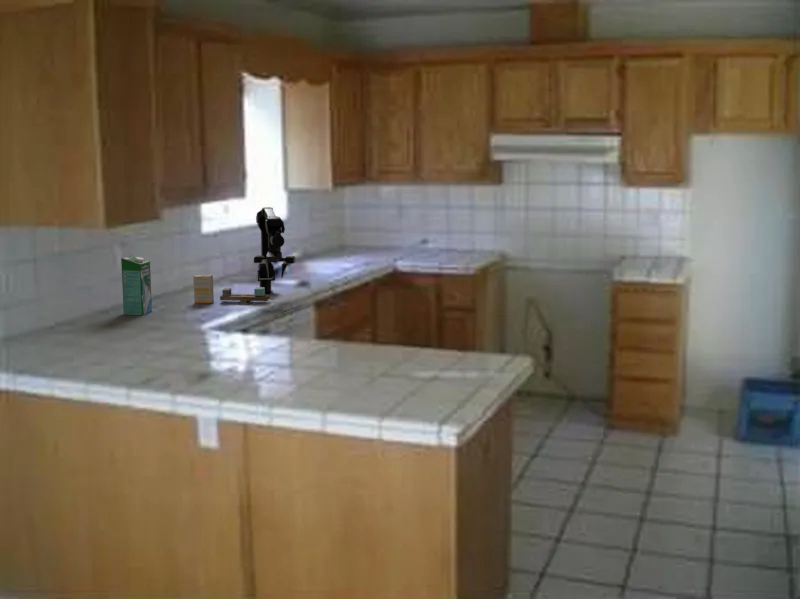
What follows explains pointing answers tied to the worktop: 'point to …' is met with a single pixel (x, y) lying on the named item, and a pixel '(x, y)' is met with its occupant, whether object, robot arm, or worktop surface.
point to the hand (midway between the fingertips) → (274, 277)
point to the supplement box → (203, 289)
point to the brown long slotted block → (242, 297)
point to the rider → (259, 291)
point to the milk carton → (136, 285)
